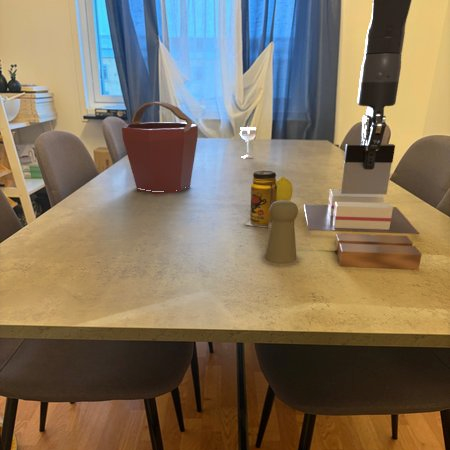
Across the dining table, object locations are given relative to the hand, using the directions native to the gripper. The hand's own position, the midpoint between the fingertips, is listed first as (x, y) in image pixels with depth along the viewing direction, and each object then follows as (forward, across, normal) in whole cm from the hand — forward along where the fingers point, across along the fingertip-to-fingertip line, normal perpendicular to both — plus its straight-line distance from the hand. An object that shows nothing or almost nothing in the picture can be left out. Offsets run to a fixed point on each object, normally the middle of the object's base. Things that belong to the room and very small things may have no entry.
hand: (367, 167), depth 95 cm
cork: (+14, -22, +18) cm, 31 cm away
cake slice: (+13, -2, 0) cm, 13 cm away
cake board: (+14, +4, 0) cm, 14 cm away
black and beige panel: (+6, 0, 0) cm, 6 cm away
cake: (+13, +8, 0) cm, 15 cm away
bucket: (+13, +34, +56) cm, 67 cm away
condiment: (+14, +2, +22) cm, 26 cm away
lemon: (+14, +16, +18) cm, 28 cm away
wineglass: (+13, +98, +33) cm, 104 cm away
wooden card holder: (+14, -20, 0) cm, 24 cm away
